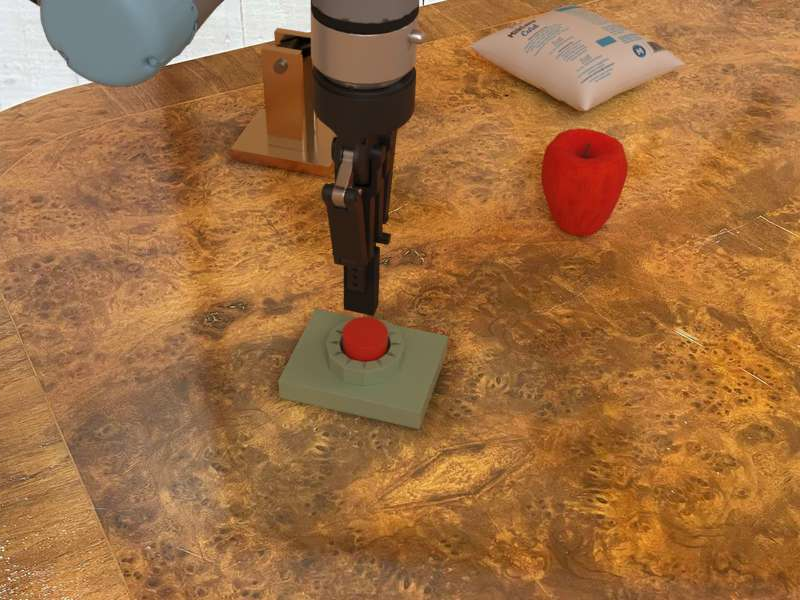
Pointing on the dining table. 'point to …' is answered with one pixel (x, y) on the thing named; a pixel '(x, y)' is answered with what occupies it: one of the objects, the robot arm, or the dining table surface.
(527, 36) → the pouch
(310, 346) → the stop button block
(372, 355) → the stop button
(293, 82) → the power switch
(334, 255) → the robot arm
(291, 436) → the dining table surface
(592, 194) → the apple
